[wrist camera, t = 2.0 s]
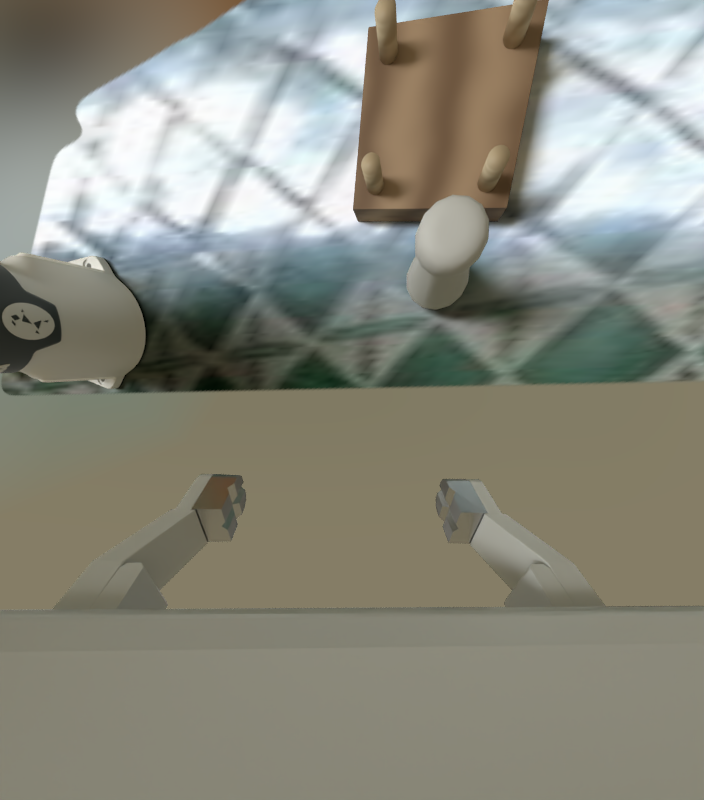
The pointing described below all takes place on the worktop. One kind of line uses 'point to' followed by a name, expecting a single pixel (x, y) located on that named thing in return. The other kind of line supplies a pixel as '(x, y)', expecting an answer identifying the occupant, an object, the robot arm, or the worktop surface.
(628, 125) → the worktop surface
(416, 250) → the salt shaker
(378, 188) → the peg stand
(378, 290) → the worktop surface
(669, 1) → the worktop surface
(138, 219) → the worktop surface
